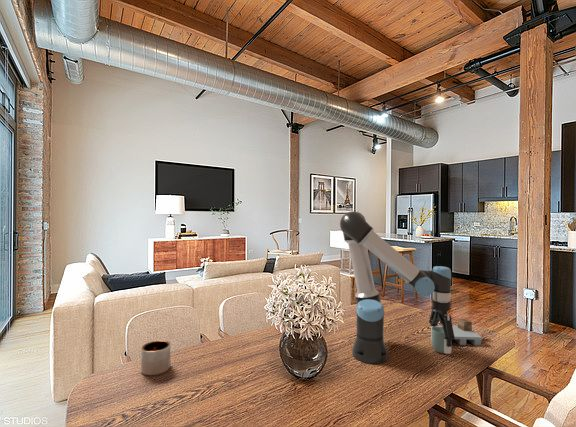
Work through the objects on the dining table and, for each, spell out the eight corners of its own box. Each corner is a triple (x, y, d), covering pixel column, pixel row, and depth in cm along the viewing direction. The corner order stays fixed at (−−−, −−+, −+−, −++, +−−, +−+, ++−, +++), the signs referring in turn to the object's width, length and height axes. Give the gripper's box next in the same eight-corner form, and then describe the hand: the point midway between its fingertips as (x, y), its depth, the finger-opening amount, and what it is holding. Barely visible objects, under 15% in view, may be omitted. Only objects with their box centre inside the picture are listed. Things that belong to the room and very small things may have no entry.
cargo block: (463, 331, 157) (463, 322, 157) (457, 327, 162) (457, 319, 162) (471, 330, 158) (471, 321, 158) (465, 327, 163) (465, 318, 162)
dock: (444, 344, 150) (444, 336, 150) (431, 333, 164) (431, 325, 164) (482, 345, 150) (482, 337, 150) (466, 333, 164) (466, 326, 164)
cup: (445, 347, 147) (446, 326, 147) (452, 355, 139) (453, 333, 139) (428, 346, 148) (429, 326, 148) (434, 354, 140) (435, 332, 140)
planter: (176, 364, 129) (176, 341, 129) (158, 378, 118) (158, 353, 118) (153, 361, 132) (153, 338, 131) (134, 374, 121) (134, 349, 121)
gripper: (464, 309, 131) (463, 359, 131) (437, 293, 156) (436, 335, 156) (446, 309, 131) (445, 359, 131) (422, 292, 156) (421, 335, 156)
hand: (440, 346), depth 144 cm, fingers open, 13 cm apart
